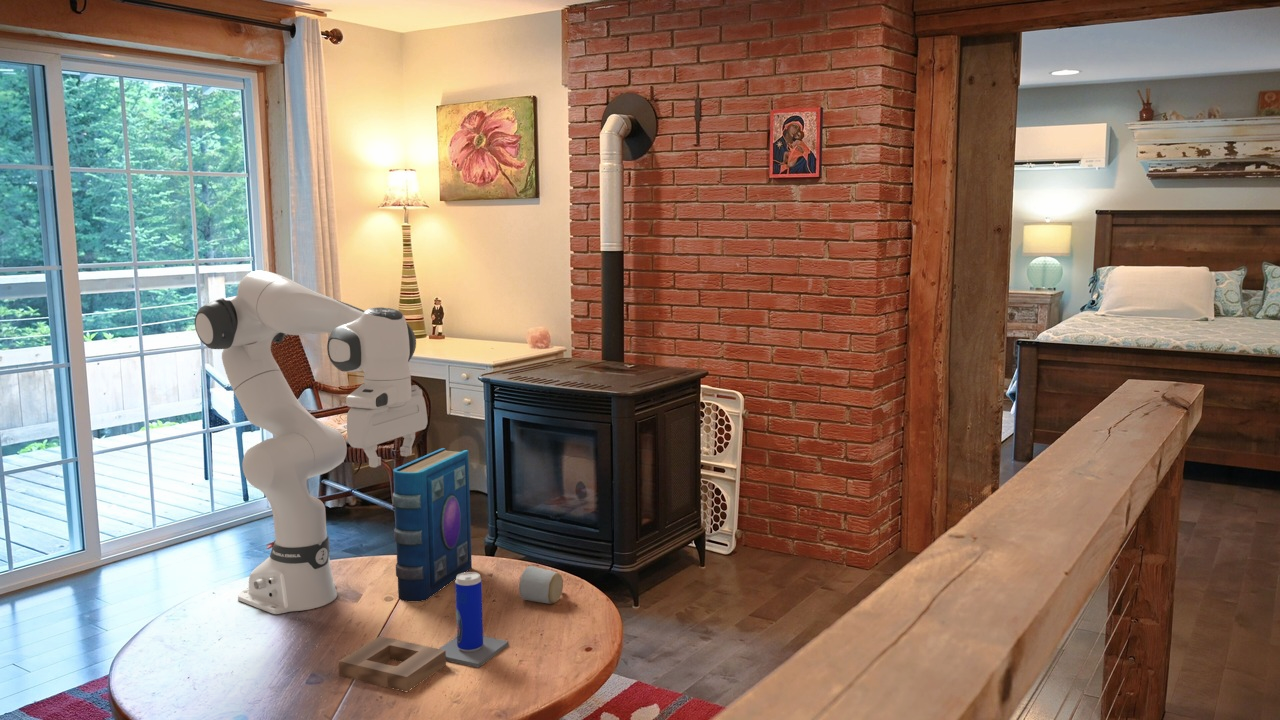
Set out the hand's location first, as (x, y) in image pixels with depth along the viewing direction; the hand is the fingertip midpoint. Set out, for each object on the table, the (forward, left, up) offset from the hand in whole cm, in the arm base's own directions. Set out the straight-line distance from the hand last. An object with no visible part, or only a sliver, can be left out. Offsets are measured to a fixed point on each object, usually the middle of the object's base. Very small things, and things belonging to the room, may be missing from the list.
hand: (391, 460), depth 188 cm
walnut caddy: (+5, -8, -39) cm, 40 cm away
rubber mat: (+14, +5, -39) cm, 42 cm away
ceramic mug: (+14, +35, -39) cm, 54 cm away
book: (-14, +32, -39) cm, 53 cm away
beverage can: (+14, +5, -38) cm, 41 cm away
